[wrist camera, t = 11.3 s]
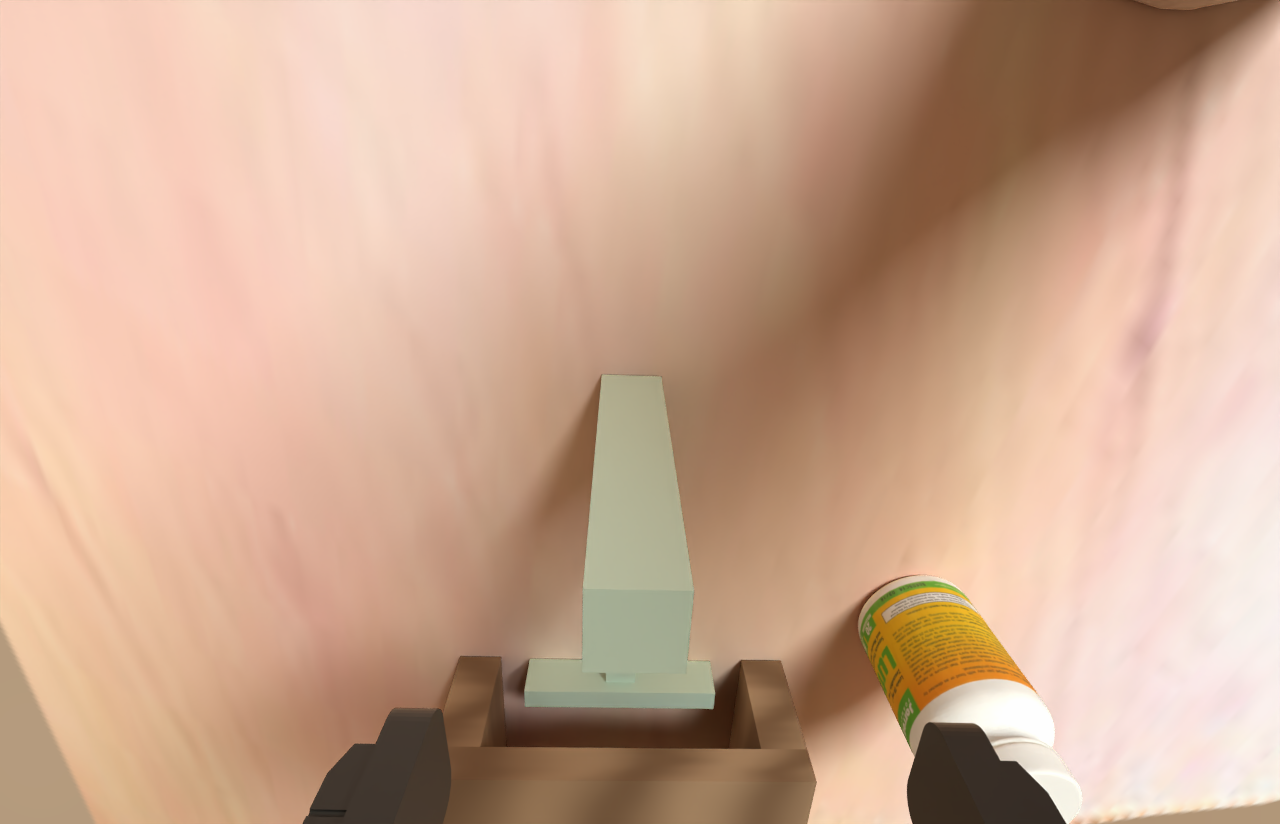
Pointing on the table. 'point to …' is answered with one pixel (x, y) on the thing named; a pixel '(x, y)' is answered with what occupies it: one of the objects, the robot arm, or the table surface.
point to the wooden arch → (627, 764)
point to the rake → (631, 571)
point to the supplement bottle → (959, 678)
